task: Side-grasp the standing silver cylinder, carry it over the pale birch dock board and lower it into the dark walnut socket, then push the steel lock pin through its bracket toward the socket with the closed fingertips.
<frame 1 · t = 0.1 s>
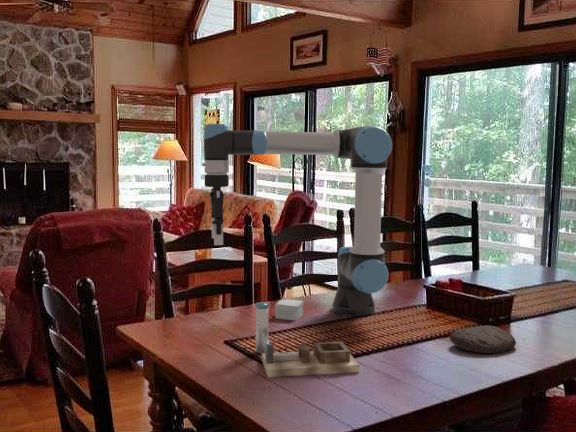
hand: (217, 241, 191), 28 cm above the table, tool pointing down, fingers open, 13 cm apart
small box: (289, 317, 208), on the table
lock pin: (282, 351, 160), point 5 cm above the table, slide at 0.0 cm
silver cylinder: (261, 351, 172), on the table
decorative stone: (482, 348, 179), on the table
dock: (309, 366, 162), on the table
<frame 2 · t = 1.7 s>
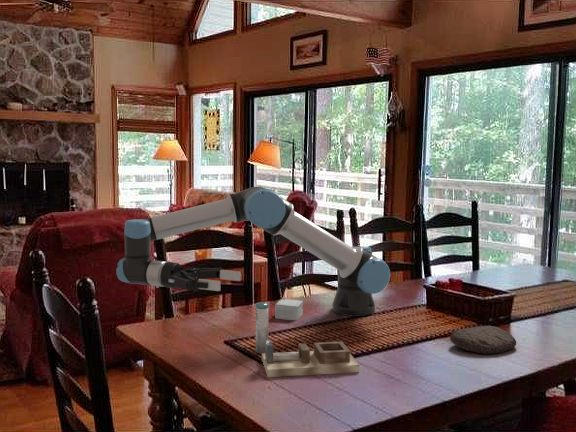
hand: (230, 281, 173), 20 cm above the table, tool horizontal, fingers open, 13 cm apart
nothing on the table moved.
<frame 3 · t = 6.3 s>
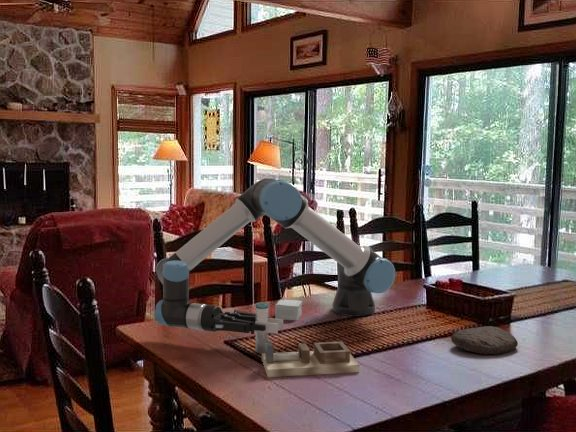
hand: (279, 326, 170), 8 cm above the table, tool horizontal, fingers closed on silver cylinder, 3 cm apart
silver cylinder: (261, 351, 172), on the table, touching gripper
when the fingers open (12 cm above the table, at t = 11.1 s): silver cylinder drops 2 cm, resting on dock.
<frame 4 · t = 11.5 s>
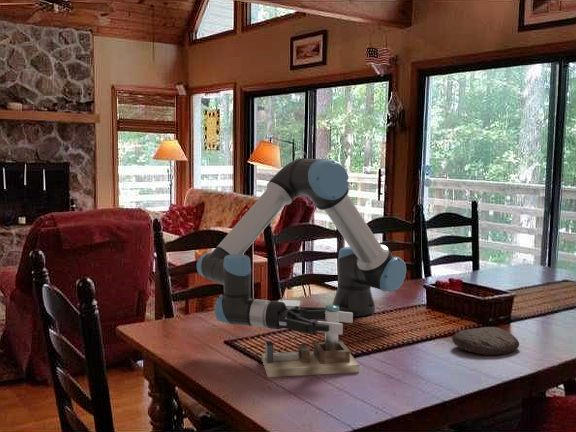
hand: (347, 323, 160), 12 cm above the table, tool horizontal, fingers open, 10 cm apart
silver cylinder: (331, 357, 162), point 2 cm above the table, touching dock
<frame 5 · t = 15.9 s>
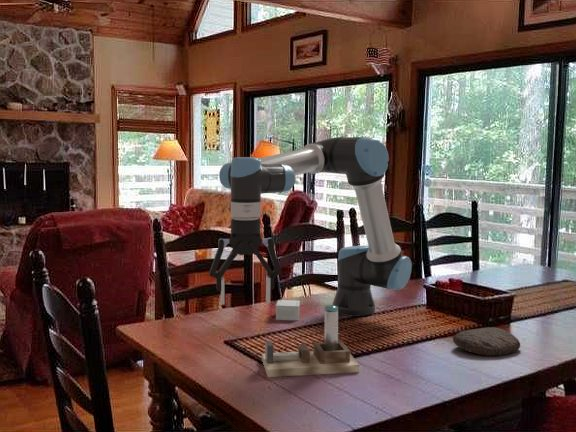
hand: (245, 302, 157), 18 cm above the table, tool pointing down, fingers open, 11 cm apart
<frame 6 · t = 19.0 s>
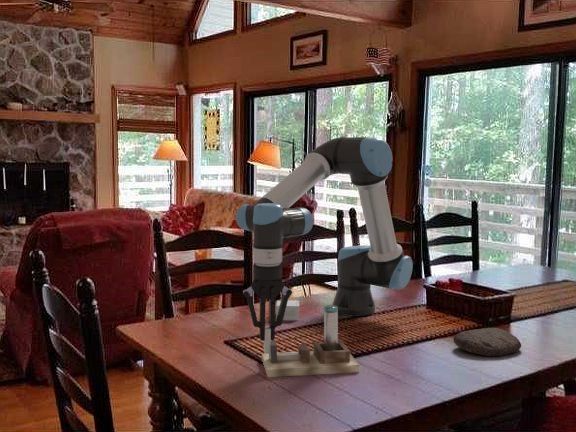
hand: (267, 351, 159), 5 cm above the table, tool pointing down, fingers closed
lock pin: (285, 351, 160), point 4 cm above the table, slide at 1.0 cm, touching gripper
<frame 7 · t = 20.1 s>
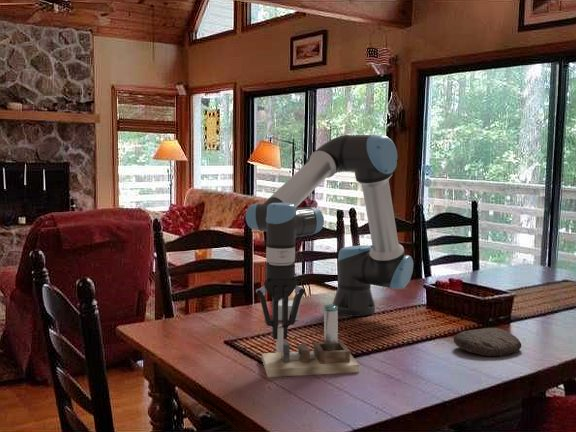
hand: (279, 350, 160), 5 cm above the table, tool pointing down, fingers closed
lock pin: (298, 350, 161), point 5 cm above the table, slide at 4.3 cm, touching gripper
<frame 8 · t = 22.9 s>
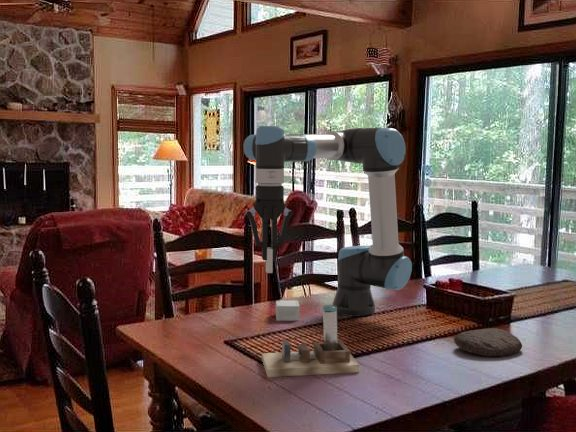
hand: (269, 271, 164), 24 cm above the table, tool pointing down, fingers closed
lock pin: (299, 350, 161), point 5 cm above the table, slide at 4.5 cm
at the end: silver cylinder 0.0 cm from the target spot on the dock, point 2.1 cm above the dock's base; silver cylinder tilted 3°; lock pin slide at 4.5 cm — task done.
